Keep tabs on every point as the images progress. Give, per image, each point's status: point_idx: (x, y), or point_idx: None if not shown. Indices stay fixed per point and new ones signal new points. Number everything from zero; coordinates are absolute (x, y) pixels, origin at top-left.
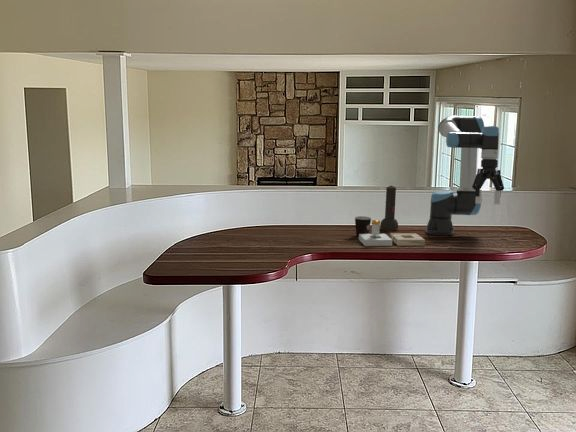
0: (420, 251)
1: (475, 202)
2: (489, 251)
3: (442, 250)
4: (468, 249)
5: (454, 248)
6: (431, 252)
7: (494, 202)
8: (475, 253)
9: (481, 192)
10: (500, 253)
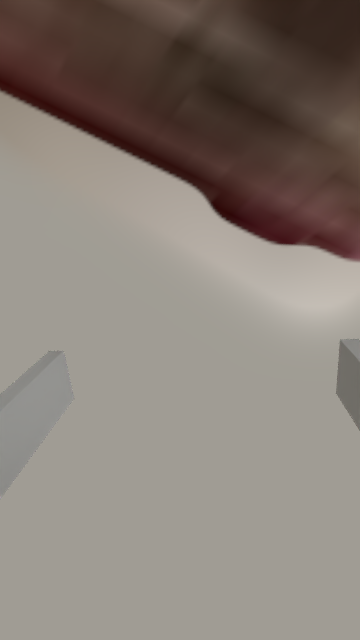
0: (9, 42)
1: (43, 356)
2: (320, 195)
3: (121, 72)
4: (258, 113)
5: (206, 59)
6: (51, 86)
7: (346, 351)
8: (228, 195)
9: (14, 477)
10: (332, 246)
